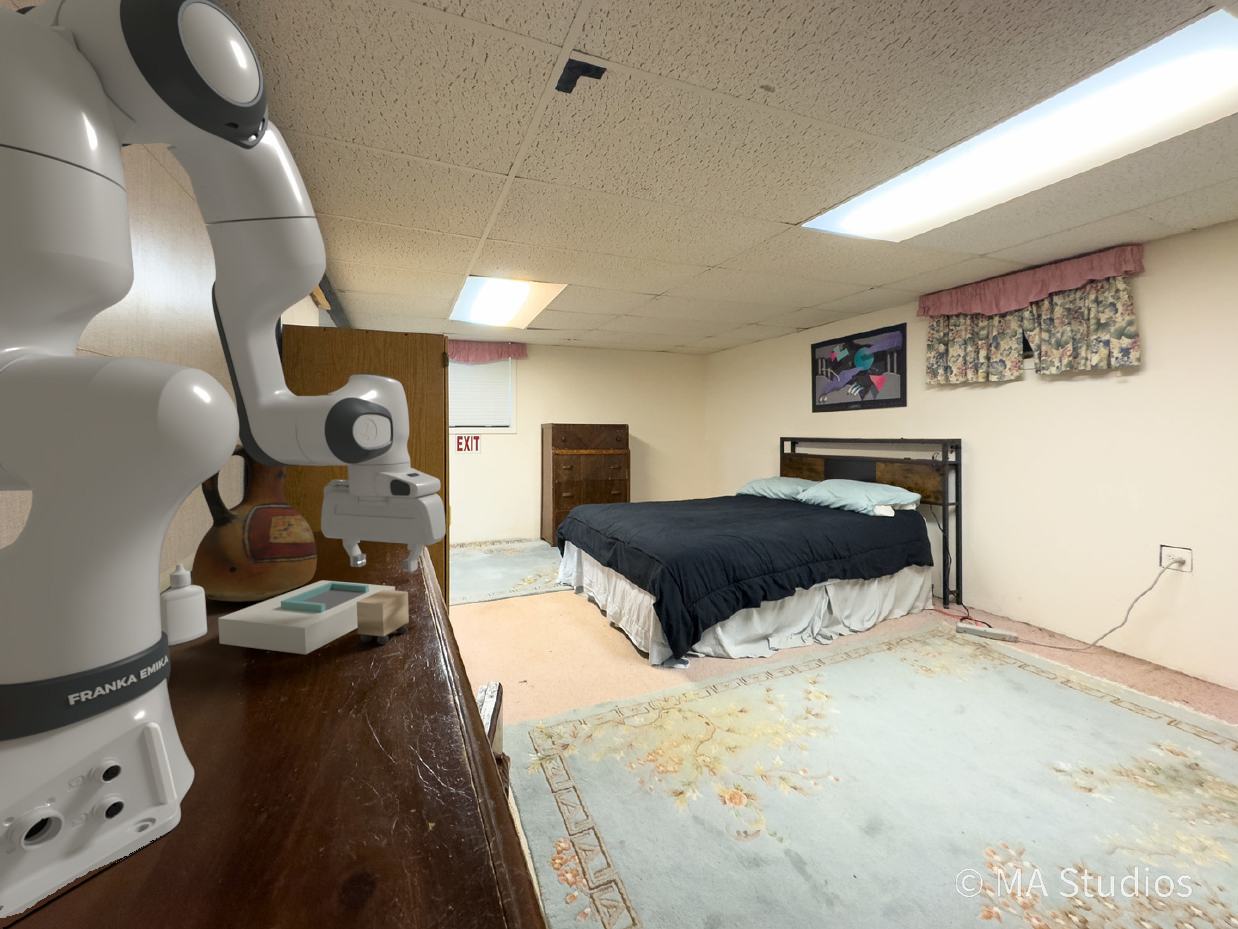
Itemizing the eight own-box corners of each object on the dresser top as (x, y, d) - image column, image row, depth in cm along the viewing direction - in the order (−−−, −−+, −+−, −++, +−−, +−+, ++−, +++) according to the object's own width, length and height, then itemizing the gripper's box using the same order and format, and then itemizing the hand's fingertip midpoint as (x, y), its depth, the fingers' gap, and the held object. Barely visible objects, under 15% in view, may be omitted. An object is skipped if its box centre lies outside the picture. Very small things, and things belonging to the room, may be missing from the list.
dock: (305, 654, 75) (304, 619, 75) (219, 643, 79) (217, 610, 79) (395, 607, 95) (394, 580, 94) (322, 600, 98) (321, 574, 98)
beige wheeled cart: (384, 646, 78) (382, 604, 77) (358, 643, 79) (356, 601, 79) (409, 631, 84) (407, 591, 83) (384, 628, 85) (383, 589, 84)
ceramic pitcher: (339, 587, 107) (333, 442, 105) (232, 620, 89) (223, 446, 87) (279, 575, 115) (273, 441, 113) (171, 603, 97) (161, 444, 95)
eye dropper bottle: (206, 639, 81) (201, 564, 80) (158, 648, 77) (153, 570, 76) (207, 630, 84) (203, 558, 83) (162, 638, 81) (157, 563, 80)
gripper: (308, 481, 79) (312, 569, 80) (425, 486, 74) (428, 579, 76) (339, 476, 85) (343, 558, 87) (449, 480, 80) (452, 567, 82)
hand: (384, 568), depth 81 cm, fingers open, 8 cm apart
